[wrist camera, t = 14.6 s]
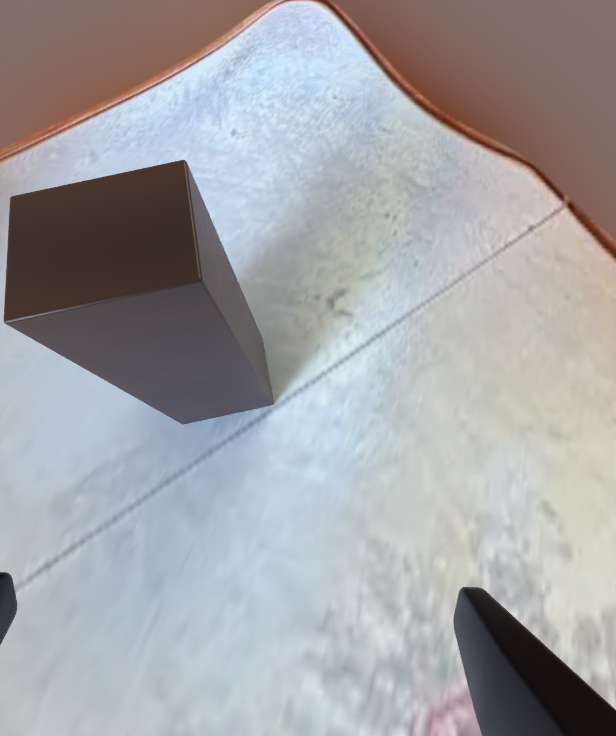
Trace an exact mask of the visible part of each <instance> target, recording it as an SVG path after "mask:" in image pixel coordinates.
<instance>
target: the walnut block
mask: <svg viewBox="0 0 616 736" xmlns="http://www.w3.org/2000/svg"><path fill="white" fill-rule="evenodd" d="M4 322H5V324H7V325H9V326H10V327H12V328H14V329H16V330H18V331H19V332H21V333H23V334H25V335H26V336H28V337H30V338H32V339H33V340H35V341H37V342H39V343H40V344H42V345H44V346H46V347H47V348H49V349H51V350H53V351H55V352H56V353H58V354H60V355H62V356H63V357H65V358H67V359H69V360H70V361H72V362H74V363H76V364H77V365H79V366H81V367H83V368H84V369H86V370H88V371H90V372H91V373H93V374H95V375H97V376H99V377H100V378H102V379H104V380H106V381H107V382H109V383H111V384H113V385H114V386H116V387H118V388H120V389H121V390H123V391H125V392H127V393H128V394H130V395H132V396H134V397H135V398H137V399H139V400H141V401H143V402H144V403H146V404H148V405H150V406H151V407H153V408H155V409H157V410H158V411H160V412H162V413H164V414H165V415H167V416H169V417H171V418H172V419H174V420H176V421H178V422H180V423H181V424H187V423H191V422H196V421H200V420H205V419H210V418H214V417H219V416H223V415H228V414H233V413H237V412H242V411H247V410H251V409H256V408H260V407H265V406H270V405H273V404H274V400H273V395H272V389H271V384H270V378H269V373H268V367H267V362H266V356H265V351H264V346H263V340H262V337H261V334H260V332H259V330H258V327H257V325H256V323H255V320H254V318H253V316H252V313H251V311H250V309H249V306H248V304H247V302H246V299H245V297H244V295H243V292H242V290H241V288H240V285H239V283H238V281H237V278H236V276H235V274H234V271H233V269H232V267H231V264H230V262H229V260H228V257H227V255H226V253H225V250H224V248H223V246H222V243H221V241H220V239H219V236H218V234H217V232H216V229H215V227H214V225H213V222H212V220H211V218H210V215H209V213H208V211H207V208H206V206H205V204H204V201H203V199H202V197H201V194H200V192H199V190H198V187H197V185H196V183H195V180H194V178H193V176H192V173H191V171H190V169H189V166H188V164H187V162H186V161H185V160H181V161H176V162H171V163H167V164H162V165H157V166H153V167H148V168H143V169H138V170H134V171H129V172H124V173H120V174H115V175H110V176H105V177H101V178H96V179H91V180H87V181H82V182H77V183H73V184H68V185H63V186H58V187H54V188H49V189H44V190H40V191H35V192H30V193H26V194H21V195H16V196H12V197H11V198H10V212H9V231H8V251H7V270H6V289H5V308H4Z"/></svg>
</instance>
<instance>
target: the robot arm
mask: <svg viewBox="0 0 616 736" xmlns="http://www.w3.org/2000/svg"><path fill="white" fill-rule="evenodd" d="M16 611H17V600H16V595H15V590H14V585H13V580H12V577H11V575H10V574H9V573H6V572H0V645H1V643H2V641H3V639H4V637H5V635H6V633H7V631H8V629H9V627H10V625H11V623H12V621H13V619H14V617H15V615H16ZM454 630H455V634H456V638H457V642H458V646H459V650H460V654H461V658H462V662H463V666H464V670H465V674H466V678H467V682H468V686H469V690H470V694H471V699H472V703H473V706H474V710H475V714H476V717H477V720H478V724H479V727H480V730H481V733H482V736H616V710H615V709H614V708H613V707H612V706H611V705H610V704H609V703H608V702H606V701H605V700H604V699H603V698H602V697H601V696H600V695H599V694H598V693H597V692H595V691H594V690H593V689H592V688H591V687H590V686H589V685H588V684H587V683H586V682H585V681H583V680H582V679H581V678H580V677H579V676H578V675H577V674H576V673H575V672H574V671H573V670H571V669H570V668H569V667H568V666H567V665H566V664H565V663H564V662H563V661H562V660H560V659H559V658H558V657H557V656H556V655H555V654H554V653H553V652H552V651H551V650H550V649H548V648H547V647H546V646H545V645H544V644H543V643H542V642H541V641H540V640H539V639H537V638H536V637H535V636H534V635H533V634H532V633H531V632H530V631H529V630H528V629H527V628H525V627H524V626H523V625H522V624H521V623H520V622H519V621H518V620H517V619H516V618H515V617H513V616H512V615H511V614H510V613H509V612H508V611H507V610H506V609H505V608H504V607H502V606H501V605H500V604H499V603H498V602H497V601H496V600H495V599H494V598H493V597H492V596H490V595H489V594H488V593H487V592H486V591H485V590H483V589H482V588H479V587H463V588H461V589H460V591H459V595H458V600H457V604H456V609H455V613H454Z"/></svg>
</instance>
